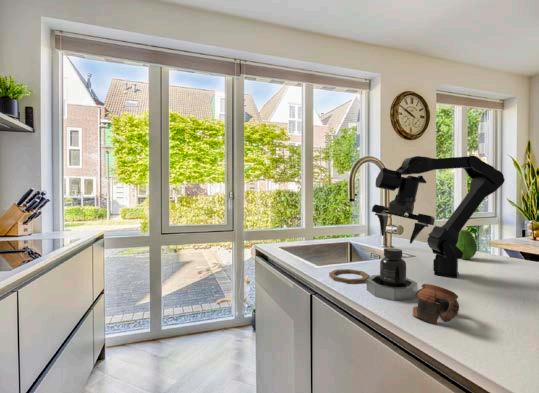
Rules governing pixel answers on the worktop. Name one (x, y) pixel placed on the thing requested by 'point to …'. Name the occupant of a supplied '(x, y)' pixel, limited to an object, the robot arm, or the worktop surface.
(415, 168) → the robot arm
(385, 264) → the supplement bottle
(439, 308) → the pottery mug
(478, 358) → the worktop surface
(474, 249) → the avocado
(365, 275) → the walnut ring
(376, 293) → the hub socket
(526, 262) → the worktop surface
